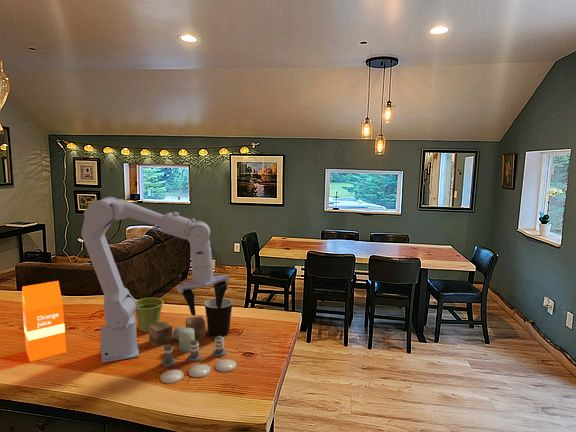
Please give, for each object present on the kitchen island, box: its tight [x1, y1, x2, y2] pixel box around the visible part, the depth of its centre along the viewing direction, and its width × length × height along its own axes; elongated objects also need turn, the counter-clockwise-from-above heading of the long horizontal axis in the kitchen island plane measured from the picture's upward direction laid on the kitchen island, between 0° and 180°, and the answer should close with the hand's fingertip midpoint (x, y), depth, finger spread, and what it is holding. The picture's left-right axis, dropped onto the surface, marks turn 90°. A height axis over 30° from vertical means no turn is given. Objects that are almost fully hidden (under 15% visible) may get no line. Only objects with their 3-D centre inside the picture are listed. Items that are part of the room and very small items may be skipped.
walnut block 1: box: [148, 320, 173, 348], centre depth 118 cm, size 5×5×5 cm
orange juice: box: [21, 280, 67, 363], centre depth 110 cm, size 8×9×20 cm
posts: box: [161, 336, 227, 368], centre depth 109 cm, size 18×4×5 cm, turn 114°
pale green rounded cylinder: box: [178, 327, 196, 353], centre depth 114 cm, size 4×4×6 cm
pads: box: [159, 358, 237, 384], centre depth 103 cm, size 20×6×1 cm, turn 114°
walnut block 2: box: [185, 315, 206, 340], centre depth 123 cm, size 5×5×5 cm
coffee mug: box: [204, 297, 233, 338], centre depth 126 cm, size 12×9×10 cm
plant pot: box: [135, 297, 164, 333], centre depth 126 cm, size 9×9×9 cm
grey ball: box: [172, 326, 185, 341], centre depth 120 cm, size 4×4×4 cm
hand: (206, 311), depth 112 cm, fingers open, 7 cm apart
